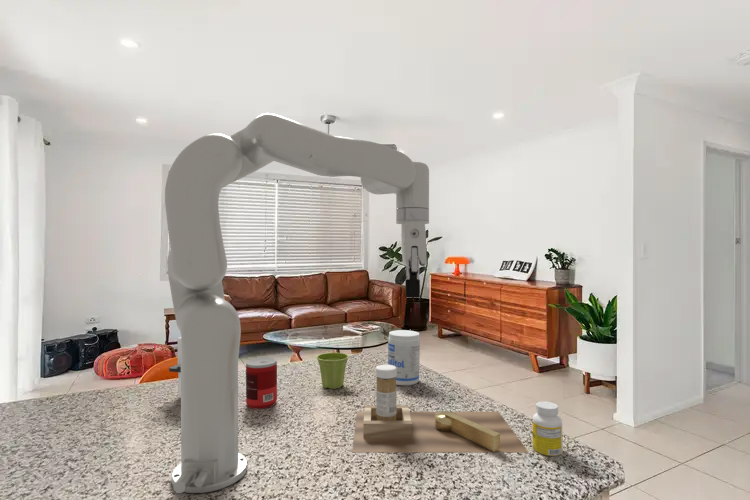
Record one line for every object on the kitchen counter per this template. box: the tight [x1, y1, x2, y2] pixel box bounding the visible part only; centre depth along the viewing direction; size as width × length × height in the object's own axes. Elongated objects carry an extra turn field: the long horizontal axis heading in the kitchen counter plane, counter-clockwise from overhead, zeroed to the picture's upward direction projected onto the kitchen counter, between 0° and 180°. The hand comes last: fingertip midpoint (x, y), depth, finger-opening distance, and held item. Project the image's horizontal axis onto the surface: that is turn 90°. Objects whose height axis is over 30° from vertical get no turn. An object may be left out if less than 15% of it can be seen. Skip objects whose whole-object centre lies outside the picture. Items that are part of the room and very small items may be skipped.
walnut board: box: [351, 411, 529, 453], centre depth 91 cm, size 20×34×1 cm, turn 90°
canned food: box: [245, 357, 278, 410], centre depth 109 cm, size 8×8×11 cm
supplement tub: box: [387, 329, 421, 386], centre depth 127 cm, size 10×10×15 cm
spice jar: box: [375, 364, 397, 421], centre depth 92 cm, size 5×5×14 cm
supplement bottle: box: [532, 400, 564, 458], centre depth 82 cm, size 5×5×10 cm
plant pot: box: [315, 352, 350, 390], centre depth 123 cm, size 9×9×9 cm
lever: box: [435, 410, 500, 453], centre depth 88 cm, size 5×16×3 cm, turn 36°
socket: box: [363, 404, 412, 438], centre depth 92 cm, size 10×10×3 cm
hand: (412, 296), depth 97 cm, fingers closed
